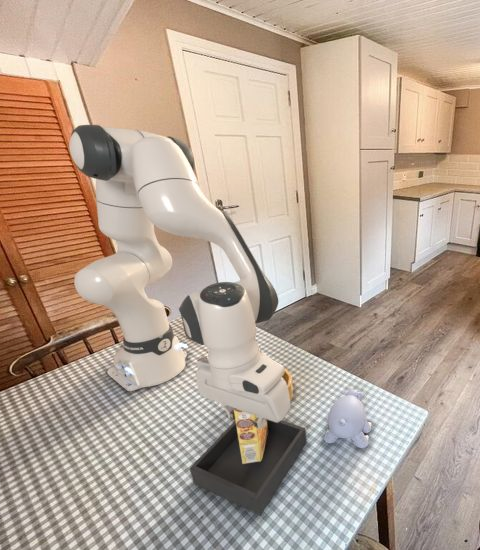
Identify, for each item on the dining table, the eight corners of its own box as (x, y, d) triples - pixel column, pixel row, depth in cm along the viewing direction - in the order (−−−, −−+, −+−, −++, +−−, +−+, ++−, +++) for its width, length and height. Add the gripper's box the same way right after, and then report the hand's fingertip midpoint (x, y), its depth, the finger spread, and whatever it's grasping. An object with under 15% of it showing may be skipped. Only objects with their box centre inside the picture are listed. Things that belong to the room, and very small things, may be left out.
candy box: (262, 462, 63) (254, 398, 60) (241, 465, 63) (231, 401, 59) (268, 431, 72) (262, 373, 68) (250, 433, 71) (242, 375, 67)
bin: (194, 484, 62) (189, 468, 60) (249, 422, 77) (247, 408, 75) (260, 516, 57) (256, 499, 55) (306, 443, 71) (305, 428, 69)
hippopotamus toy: (375, 407, 82) (375, 378, 78) (365, 458, 68) (366, 426, 64) (336, 402, 83) (335, 374, 80) (319, 451, 69) (317, 419, 66)
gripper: (181, 363, 58) (196, 418, 63) (270, 391, 51) (279, 449, 56) (208, 345, 63) (219, 397, 69) (291, 368, 57) (297, 423, 62)
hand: (247, 421), depth 62 cm, fingers closed on candy box, 5 cm apart
